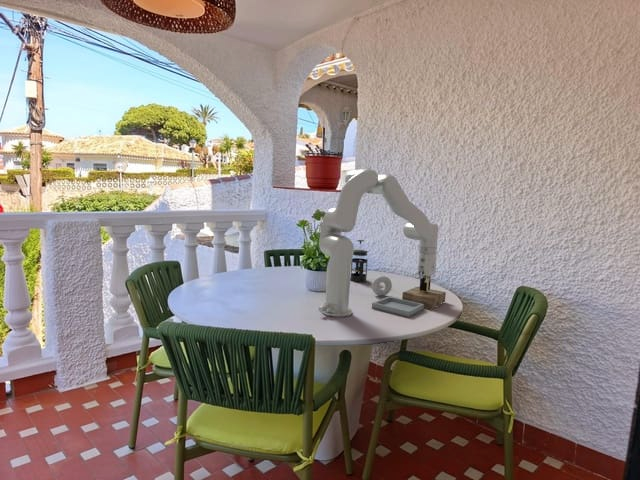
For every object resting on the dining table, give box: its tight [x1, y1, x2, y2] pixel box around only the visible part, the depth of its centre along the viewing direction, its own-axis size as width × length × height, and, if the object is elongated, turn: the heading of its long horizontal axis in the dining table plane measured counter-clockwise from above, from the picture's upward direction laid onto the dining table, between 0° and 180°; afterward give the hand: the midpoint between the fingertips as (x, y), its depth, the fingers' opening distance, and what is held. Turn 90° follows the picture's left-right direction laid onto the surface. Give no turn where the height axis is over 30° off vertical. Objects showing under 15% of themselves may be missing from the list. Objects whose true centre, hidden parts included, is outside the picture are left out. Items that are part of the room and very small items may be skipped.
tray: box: [371, 296, 425, 319], centre depth 166 cm, size 15×17×2 cm
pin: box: [421, 277, 429, 294], centre depth 177 cm, size 3×3×12 cm
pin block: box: [401, 286, 447, 310], centre depth 177 cm, size 16×14×5 cm
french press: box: [350, 239, 369, 283], centre depth 215 cm, size 12×9×23 cm
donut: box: [371, 275, 393, 297], centre depth 186 cm, size 10×4×10 cm, turn 99°
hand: (424, 289), depth 177 cm, fingers closed on pin, 3 cm apart
